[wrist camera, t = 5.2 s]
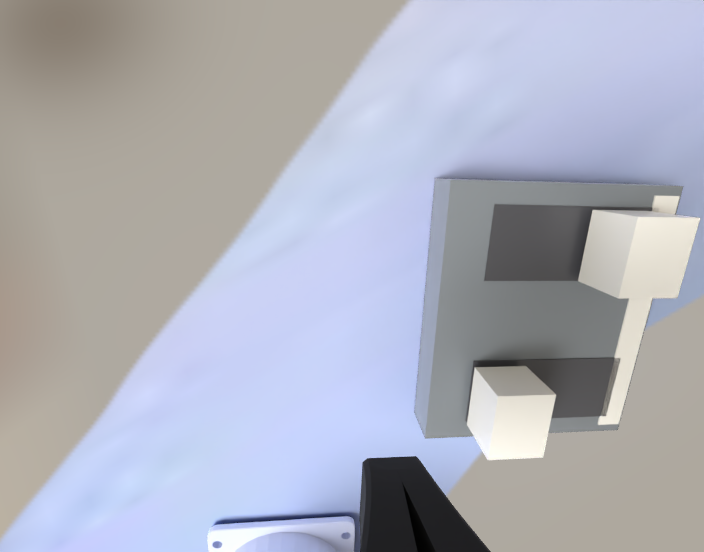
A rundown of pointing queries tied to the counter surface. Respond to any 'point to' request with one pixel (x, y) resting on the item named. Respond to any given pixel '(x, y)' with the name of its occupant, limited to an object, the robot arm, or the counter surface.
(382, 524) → the robot arm
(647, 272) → the switch tab
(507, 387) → the switch tab
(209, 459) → the counter surface
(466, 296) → the switch panel
